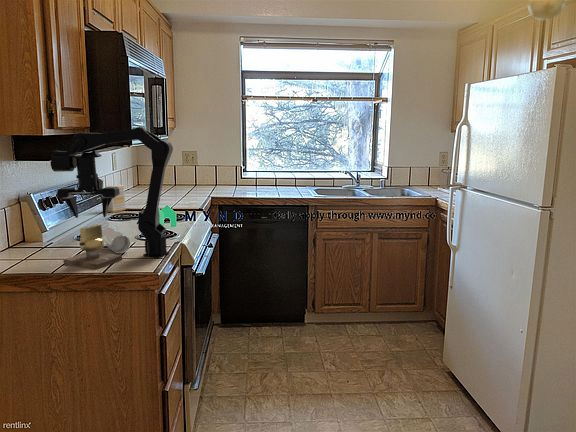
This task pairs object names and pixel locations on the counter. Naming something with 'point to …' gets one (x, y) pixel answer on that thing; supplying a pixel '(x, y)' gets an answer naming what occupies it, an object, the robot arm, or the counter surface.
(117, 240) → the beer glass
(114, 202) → the supplement box
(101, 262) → the base
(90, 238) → the cap
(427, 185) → the counter surface
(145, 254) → the robot arm
